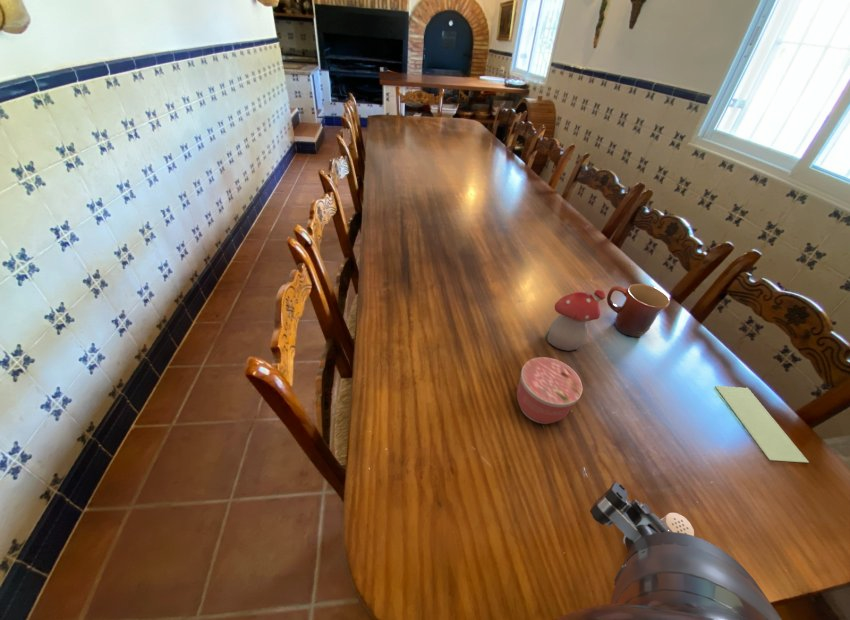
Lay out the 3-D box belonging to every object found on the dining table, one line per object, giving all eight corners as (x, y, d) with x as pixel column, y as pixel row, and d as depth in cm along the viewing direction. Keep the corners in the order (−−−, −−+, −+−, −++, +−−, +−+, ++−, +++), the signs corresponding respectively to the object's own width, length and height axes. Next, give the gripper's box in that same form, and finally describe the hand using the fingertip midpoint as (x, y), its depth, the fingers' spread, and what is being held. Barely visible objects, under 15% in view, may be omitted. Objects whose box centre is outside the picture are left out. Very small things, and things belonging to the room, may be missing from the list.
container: (537, 440, 62) (551, 414, 57) (500, 395, 69) (509, 368, 64) (579, 416, 66) (595, 390, 61) (540, 376, 73) (552, 349, 68)
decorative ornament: (584, 339, 83) (610, 287, 73) (583, 358, 78) (611, 305, 68) (543, 327, 85) (563, 275, 75) (540, 346, 80) (562, 293, 70)
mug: (651, 326, 88) (672, 293, 81) (644, 346, 82) (667, 313, 75) (601, 306, 93) (617, 274, 86) (592, 324, 87) (609, 290, 80)
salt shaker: (655, 539, 51) (692, 513, 45) (663, 572, 48) (703, 549, 42) (626, 531, 52) (658, 504, 46) (631, 563, 49) (667, 539, 43)
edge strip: (808, 462, 62) (809, 462, 62) (769, 460, 62) (770, 460, 62) (747, 388, 74) (748, 387, 74) (714, 386, 74) (715, 385, 74)
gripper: (960, 776, 14) (817, 618, 26) (624, 464, 22) (639, 459, 35) (807, 885, 14) (741, 682, 27) (542, 546, 23) (586, 512, 36)
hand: (684, 557), depth 31 cm, fingers open, 8 cm apart
